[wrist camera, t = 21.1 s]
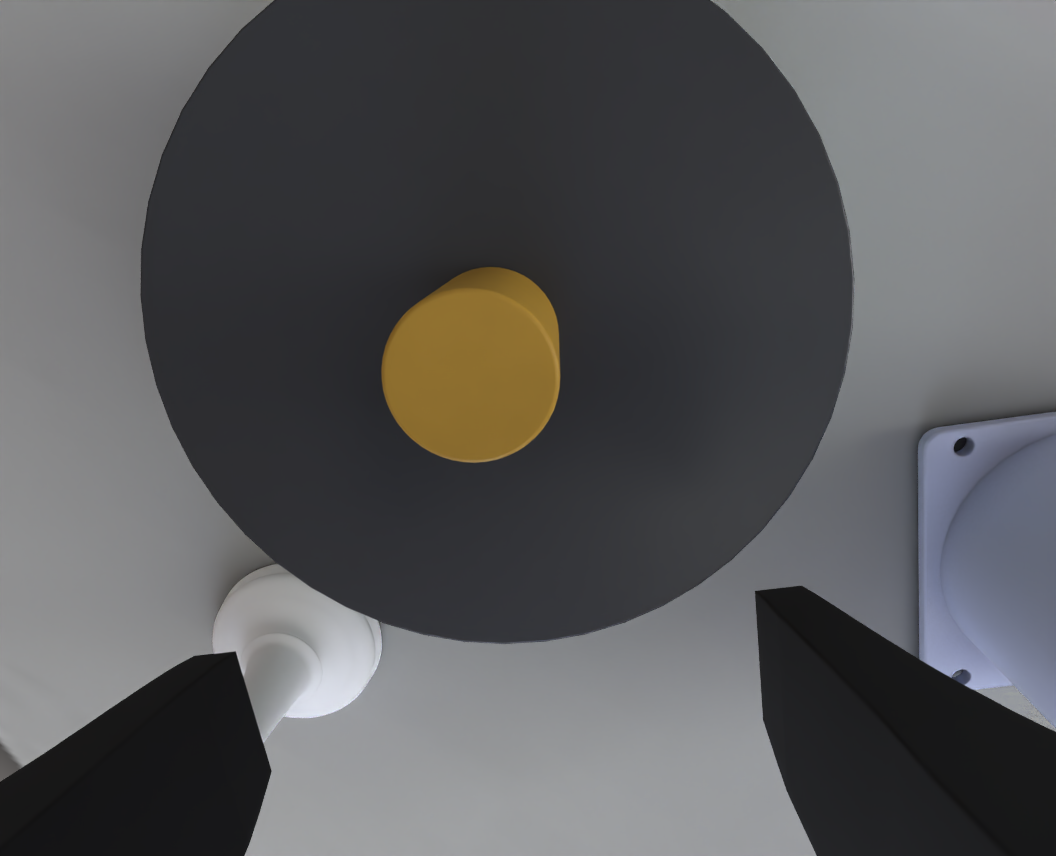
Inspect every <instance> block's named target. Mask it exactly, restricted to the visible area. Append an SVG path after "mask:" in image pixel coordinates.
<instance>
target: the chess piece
mask: <svg viewBox="0 0 1056 856" xmlns="http://www.w3.org/2000/svg"><path fill="white" fill-rule="evenodd" d="M212 644H213V651H214V654H217V653H225V652H234V651H236V654H237V657H238V661H239V664H240V667H241V671H242V674H243V677H244V681H245V684H246V687H247V691H248V694H249V698H250V701H251V704H252V708H253V711H254V714H255V718H256V721H257V724H258V728H259V731H260V734H261V738H262V741H263V743H264V741H265V740H266V739H267V737H268V736H269V735H270V734H271V732H272V731H273V729H274V728H275V727H276V726H277V724H278V723H279V722H280V720H281V719H282V718H283V716H284V717H291V718H313V717H319V716H324V715H327V714H330V713H333V712H335V711H338V710H340V709H341V708H343V707H345V706H346V705H348V704H349V703H351V702H352V701H353V700H354V699H355V698H356V697H357V696H358V695H359V694H360V693H361V692H362V691H363V689H364V688H365V686H366V685H367V683H368V682H369V680H370V679H371V678H372V676H373V674H374V673H375V671H376V669H377V666H378V664H379V661H380V657H381V651H382V635H381V629H380V625H379V622H378V620H375V619H373V618H370V617H368V616H366V615H363V614H361V613H359V612H356V611H354V610H351V609H349V608H347V607H345V606H343V605H341V604H339V603H338V602H336V601H334V600H332V599H330V598H329V597H327V596H325V595H323V594H322V593H320V592H318V591H316V590H314V589H313V588H311V587H309V586H308V585H307V584H305V583H304V582H302V581H301V580H300V579H298V578H297V577H295V576H294V575H293V574H291V573H290V572H288V571H287V570H286V569H284V568H283V567H282V566H280V565H279V564H274V565H270V566H266V567H263V568H260V569H258V570H256V571H254V572H252V573H250V574H248V575H247V576H245V577H244V578H242V579H241V580H240V581H239V582H238V583H237V584H236V585H235V586H234V587H233V588H232V589H231V591H230V592H229V593H228V595H227V596H226V598H225V600H224V602H223V605H222V606H221V608H220V610H219V612H218V614H217V616H216V619H215V622H214V626H213V633H212Z"/></svg>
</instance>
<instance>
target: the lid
mask: <svg viewBox="0 0 1056 856" xmlns="http://www.w3.org/2000/svg"><path fill="white" fill-rule="evenodd" d="M141 303H142V312H143V321H144V330H145V339H146V344H147V348H148V352H149V357H150V361H151V365H152V369H153V373H154V377H155V381H156V386H157V388H158V391H159V393H160V396H161V399H162V401H163V404H164V407H165V409H166V412H167V415H168V417H169V420H170V423H171V425H172V428H173V430H174V432H175V434H176V435H177V437H178V439H179V441H180V443H181V445H182V447H183V449H184V451H185V453H186V455H187V457H188V458H189V460H190V462H191V464H192V466H193V468H194V469H195V471H196V472H197V473H198V475H199V476H200V478H201V479H202V481H203V482H204V484H205V485H206V487H207V488H208V490H209V491H210V493H211V494H212V495H213V497H214V498H215V500H216V501H217V503H218V504H219V505H220V506H221V507H222V508H223V510H224V511H225V512H226V513H227V514H228V515H229V516H230V518H231V519H232V520H233V521H234V522H235V523H236V524H237V526H238V527H239V528H240V529H241V530H242V531H243V532H244V534H245V535H246V536H247V537H249V538H250V539H251V540H252V541H253V542H254V543H255V544H256V545H257V546H258V547H260V548H261V549H262V550H263V551H264V552H265V553H266V554H267V555H268V556H269V557H271V558H272V559H273V560H274V561H275V562H276V563H277V564H279V565H280V566H282V567H283V568H284V569H286V570H287V571H288V572H290V573H291V574H293V575H294V576H295V577H297V578H298V579H300V580H301V581H302V582H304V583H305V584H307V585H308V586H309V587H311V588H313V589H314V590H316V591H318V592H320V593H322V594H323V595H325V596H327V597H329V598H330V599H332V600H334V601H336V602H338V603H339V604H341V605H343V606H345V607H347V608H349V609H351V610H354V611H356V612H359V613H361V614H363V615H366V616H368V617H370V618H373V619H375V620H378V621H380V622H382V623H385V624H388V625H392V626H395V627H399V628H402V629H406V630H409V631H412V632H416V633H419V634H423V635H428V636H434V637H440V638H446V639H451V640H457V641H463V642H480V643H498V644H510V643H527V642H544V641H550V640H556V639H562V638H567V637H573V636H579V635H584V634H588V633H591V632H595V631H598V630H601V629H605V628H608V627H611V626H615V625H618V624H621V623H624V622H627V621H629V620H631V619H634V618H636V617H638V616H641V615H643V614H645V613H648V612H650V611H652V610H654V609H657V608H659V607H661V606H663V605H665V604H667V603H668V602H670V601H672V600H674V599H675V598H677V597H679V596H680V595H682V594H684V593H686V592H687V591H689V590H691V589H692V588H694V587H696V586H698V585H699V584H700V583H702V582H703V581H704V580H706V579H707V578H708V577H710V576H711V575H712V574H714V573H715V572H716V571H717V570H719V569H720V568H721V567H723V566H724V565H725V564H727V563H728V562H729V561H731V560H732V559H733V558H734V557H735V556H736V555H737V554H738V553H739V552H740V551H741V550H742V549H743V548H744V547H745V546H746V545H747V544H748V543H749V542H751V541H752V540H753V539H754V538H755V537H756V536H757V535H758V534H759V533H760V532H761V531H762V530H763V529H764V527H765V526H766V525H767V524H768V522H769V521H770V520H771V519H772V517H773V516H774V515H775V514H776V512H777V511H778V510H779V509H780V507H781V506H782V505H783V504H784V502H785V501H786V500H787V499H788V497H789V496H790V495H791V493H792V491H793V490H794V488H795V487H796V485H797V483H798V482H799V480H800V478H801V477H802V475H803V474H804V472H805V470H806V469H807V467H808V465H809V464H810V462H811V461H812V459H813V457H814V455H815V452H816V450H817V448H818V446H819V444H820V441H821V439H822V437H823V435H824V433H825V430H826V428H827V426H828V424H829V422H830V419H831V417H832V414H833V410H834V407H835V404H836V401H837V397H838V394H839V391H840V388H841V384H842V381H843V378H844V375H845V369H846V363H847V357H848V352H849V346H850V340H851V334H852V328H853V303H854V271H853V261H852V251H851V240H850V230H849V226H848V222H847V218H846V214H845V209H844V205H843V201H842V197H841V193H840V188H839V184H838V181H837V178H836V176H835V173H834V171H833V168H832V165H831V163H830V160H829V158H828V155H827V153H826V150H825V147H824V145H823V142H822V140H821V137H820V135H819V133H818V131H817V129H816V127H815V126H814V124H813V122H812V120H811V119H810V117H809V115H808V113H807V111H806V110H805V108H804V106H803V104H802V102H801V101H800V99H799V97H798V95H797V94H796V92H795V90H794V89H793V87H792V86H791V85H790V83H789V82H788V81H787V79H786V78H785V77H784V75H783V74H782V73H781V72H780V70H779V69H778V68H777V66H776V65H775V64H774V62H773V61H772V60H771V58H770V57H769V56H768V55H767V53H766V52H765V51H764V49H763V48H762V47H761V46H760V45H759V44H758V43H757V42H756V41H755V40H754V39H753V38H752V37H751V36H750V35H749V34H748V33H747V32H746V31H745V30H744V29H743V28H742V27H741V26H740V25H739V24H738V23H737V22H735V21H734V20H733V19H732V18H731V17H730V16H729V15H728V14H727V13H726V12H725V11H724V10H723V9H721V8H720V7H719V6H717V5H716V4H715V3H713V2H712V1H710V0H274V1H273V2H272V3H271V4H270V5H268V6H267V7H266V8H265V9H264V10H263V11H262V12H260V13H259V14H258V15H257V16H256V17H255V18H254V19H252V20H251V21H250V22H249V23H248V24H247V25H246V26H244V27H243V28H242V29H241V30H240V31H239V33H238V34H237V35H236V36H235V37H234V39H233V40H232V41H231V42H230V43H229V44H228V46H227V47H226V48H225V49H224V50H223V51H222V53H221V54H220V55H219V56H218V57H217V58H216V60H215V61H214V62H213V63H212V64H211V66H210V67H209V68H208V70H207V71H206V73H205V74H204V76H203V78H202V79H201V81H200V82H199V84H198V85H197V87H196V89H195V90H194V92H193V93H192V95H191V97H190V98H189V100H188V101H187V103H186V105H185V106H184V108H183V109H182V111H181V114H180V116H179V118H178V120H177V122H176V125H175V127H174V129H173V131H172V134H171V136H170V138H169V140H168V143H167V145H166V147H165V149H164V152H163V154H162V157H161V160H160V164H159V167H158V170H157V174H156V177H155V181H154V184H153V188H152V191H151V194H150V198H149V201H148V208H147V215H146V221H145V228H144V235H143V241H142V248H141Z"/></svg>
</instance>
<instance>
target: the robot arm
mask: <svg viewBox="0 0 1056 856" xmlns="http://www.w3.org/2000/svg"><path fill="white" fill-rule="evenodd" d="M963 437H966V440H967V441H966V444H965V446H964V447H963V448H962V449H961V450H959V451H957V452H954V449H953V448H954V444H955V443H956V441H957V440H958V439H960V438H963ZM918 535H919V659H918V658H916V657H915V656H913V655H911V654H910V653H908V652H906V651H905V650H903V649H901V648H900V647H898V646H897V645H895V644H893V643H892V642H890V641H888V640H887V639H885V638H884V637H882V636H881V635H879V634H877V633H876V632H874V631H873V630H871V629H869V628H868V627H866V626H865V625H863V624H862V623H860V622H859V621H857V620H855V619H854V618H852V617H851V616H849V615H848V614H846V613H845V612H843V611H841V610H840V609H838V608H837V607H835V606H834V605H832V604H831V603H829V602H827V601H826V600H824V599H823V598H821V597H820V596H818V595H816V594H815V593H813V592H812V591H810V590H808V589H806V588H805V587H803V586H795V587H786V588H778V589H769V590H760V591H755V598H756V614H757V629H758V645H759V661H760V676H761V692H762V708H763V721H764V724H765V727H766V730H767V733H768V736H769V739H770V742H771V745H772V748H773V751H774V754H775V757H776V760H777V763H778V766H779V769H780V772H781V775H782V778H783V781H784V784H785V787H786V790H787V792H788V794H789V797H790V799H791V801H792V803H793V805H794V808H795V810H796V812H797V814H798V816H799V818H800V821H801V823H802V825H803V827H804V829H805V831H806V833H807V836H808V838H809V840H810V842H811V844H812V846H813V848H814V851H815V853H816V855H817V856H1056V732H1055V731H1053V730H1050V729H1048V728H1046V727H1044V726H1042V725H1040V724H1038V723H1036V722H1034V721H1032V720H1030V719H1028V718H1026V717H1024V716H1022V715H1020V714H1018V713H1016V712H1014V711H1012V710H1010V709H1008V708H1006V707H1004V706H1002V705H1000V704H999V703H997V702H995V701H993V700H991V699H989V698H987V697H986V696H984V695H982V694H980V693H978V692H976V691H974V690H976V689H985V688H995V687H1004V686H1013V685H1014V686H1015V687H1016V688H1017V689H1018V690H1019V691H1020V692H1021V693H1022V694H1023V695H1024V696H1025V697H1026V698H1027V699H1028V700H1029V701H1030V703H1031V704H1032V705H1033V706H1034V707H1035V708H1036V709H1037V710H1038V711H1039V712H1040V713H1041V714H1042V715H1043V716H1044V717H1045V718H1046V719H1047V720H1048V721H1049V722H1050V723H1051V724H1052V725H1053V726H1054V727H1055V728H1056V411H1055V412H1048V413H1041V414H1033V415H1026V416H1018V417H1011V418H1003V419H996V420H988V421H981V422H974V423H966V424H959V425H951V426H944V427H937V428H934V429H931V430H929V431H928V432H926V433H925V434H924V435H923V436H922V438H921V439H920V441H919V445H918ZM961 669H963V671H962V673H961V674H960V675H958V676H955V677H952V675H953V674H954V673H955V672H956V671H958V670H961ZM270 775H271V768H270V764H269V761H268V758H267V754H266V751H265V748H264V744H263V741H262V738H261V734H260V731H259V728H258V724H257V721H256V718H255V714H254V711H253V708H252V704H251V701H250V698H249V694H248V691H247V687H246V684H245V681H244V677H243V674H242V671H241V667H240V664H239V661H238V657H237V654H236V651H234V652H225V653H217V654H208V655H199V656H193V657H192V658H190V659H188V660H186V661H184V662H182V663H180V664H179V665H177V666H175V667H173V668H172V669H170V670H168V671H167V672H165V673H164V674H162V675H160V676H159V677H157V678H156V679H154V680H153V681H151V682H150V683H148V684H146V685H145V686H143V687H142V688H140V689H139V690H137V691H136V692H134V693H133V694H131V695H130V696H128V697H127V698H126V699H124V700H123V701H121V702H120V703H118V704H117V705H115V706H114V707H112V708H111V709H109V710H108V711H106V712H105V713H103V714H102V715H100V716H99V717H97V718H96V719H95V720H93V721H92V722H90V723H89V724H87V725H86V726H84V727H83V728H81V729H80V730H78V731H77V732H75V733H74V734H72V735H71V736H69V737H68V738H67V739H65V740H64V741H62V742H61V743H59V744H58V745H56V746H55V747H53V748H52V749H50V750H49V751H47V752H46V753H44V754H43V755H41V756H40V757H38V758H37V759H35V760H33V761H32V762H30V763H29V764H27V765H26V766H24V767H23V768H21V769H19V770H18V771H16V772H15V773H13V774H12V775H10V776H9V777H7V778H5V779H4V780H2V781H1V782H0V856H244V855H245V853H246V850H247V848H248V846H249V843H250V840H251V837H252V834H253V831H254V828H255V825H256V822H257V819H258V816H259V813H260V809H261V806H262V802H263V799H264V795H265V792H266V789H267V785H268V782H269V778H270Z"/></svg>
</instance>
